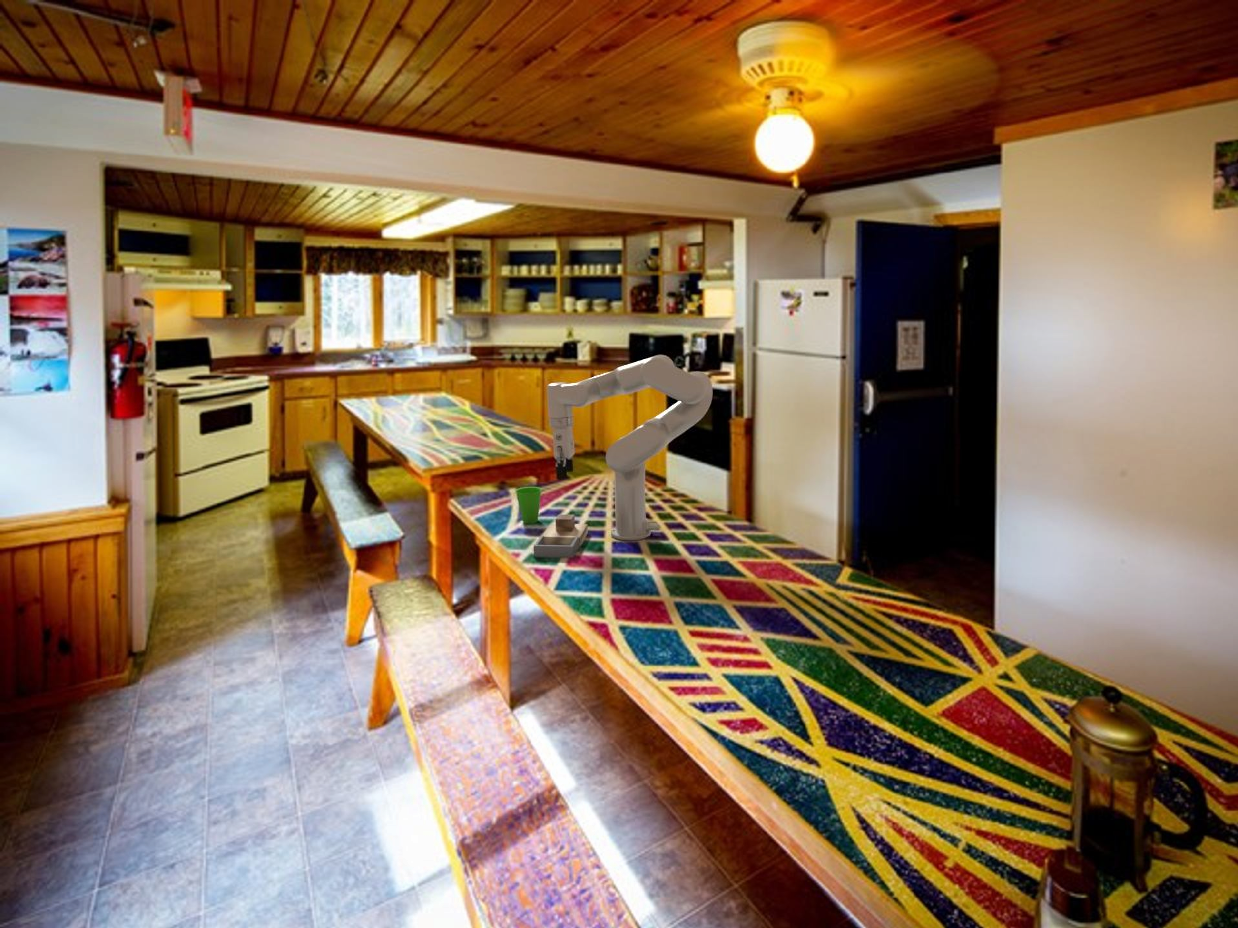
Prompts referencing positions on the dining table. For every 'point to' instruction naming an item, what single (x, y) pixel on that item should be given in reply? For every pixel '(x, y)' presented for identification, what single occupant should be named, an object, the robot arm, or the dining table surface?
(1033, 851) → the dining table surface
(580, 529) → the board
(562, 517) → the block
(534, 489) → the cup
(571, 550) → the bin
